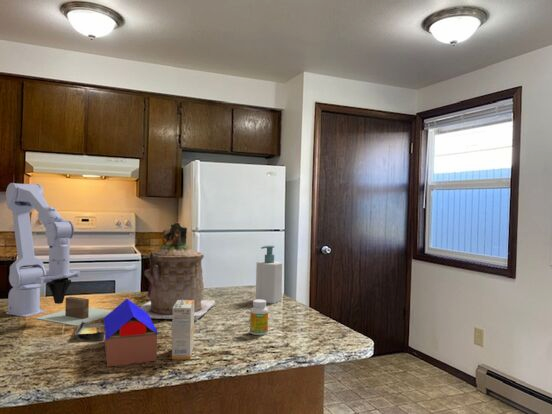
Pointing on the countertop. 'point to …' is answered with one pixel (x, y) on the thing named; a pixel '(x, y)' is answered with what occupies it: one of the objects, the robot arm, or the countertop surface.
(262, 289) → the soap bottle
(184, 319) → the supplement box
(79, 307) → the walnut slab
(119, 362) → the house
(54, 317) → the mat
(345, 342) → the countertop surface
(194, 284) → the brown textured pot
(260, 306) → the supplement bottle
